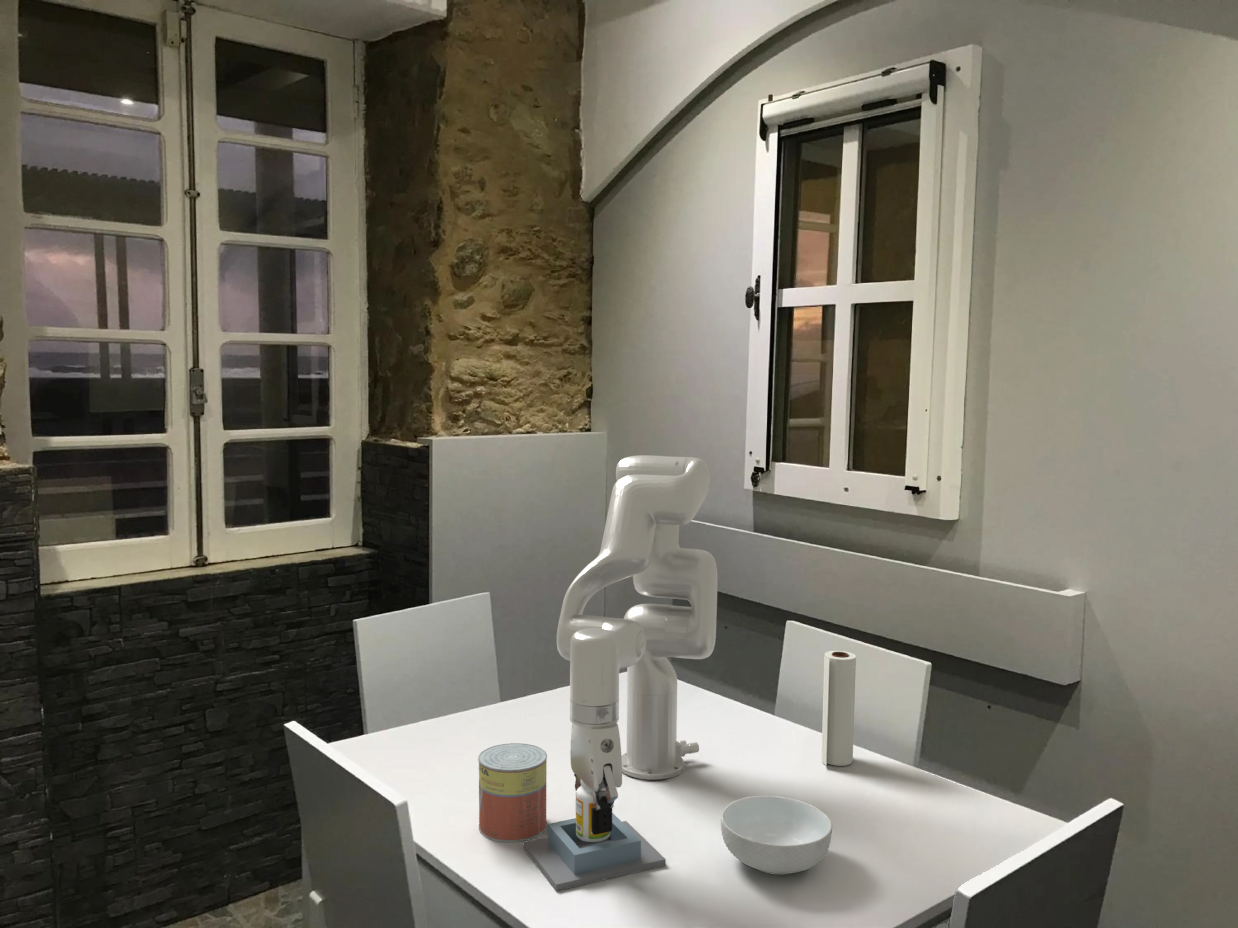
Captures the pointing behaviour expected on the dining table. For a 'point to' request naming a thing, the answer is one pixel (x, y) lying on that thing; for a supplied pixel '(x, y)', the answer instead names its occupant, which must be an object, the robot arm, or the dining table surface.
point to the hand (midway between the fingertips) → (593, 822)
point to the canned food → (512, 792)
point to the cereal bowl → (776, 833)
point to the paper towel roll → (838, 708)
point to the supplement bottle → (587, 814)
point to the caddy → (591, 854)
